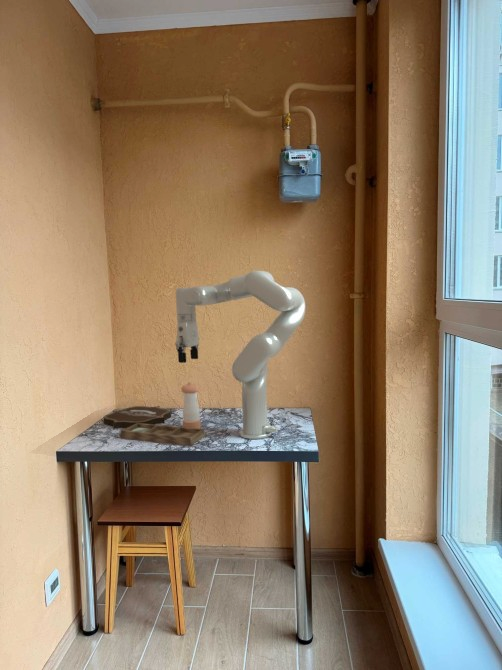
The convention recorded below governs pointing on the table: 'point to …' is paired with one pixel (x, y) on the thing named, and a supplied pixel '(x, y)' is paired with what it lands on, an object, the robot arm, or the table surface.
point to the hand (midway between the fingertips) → (188, 360)
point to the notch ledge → (163, 434)
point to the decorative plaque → (137, 416)
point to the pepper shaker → (191, 406)
